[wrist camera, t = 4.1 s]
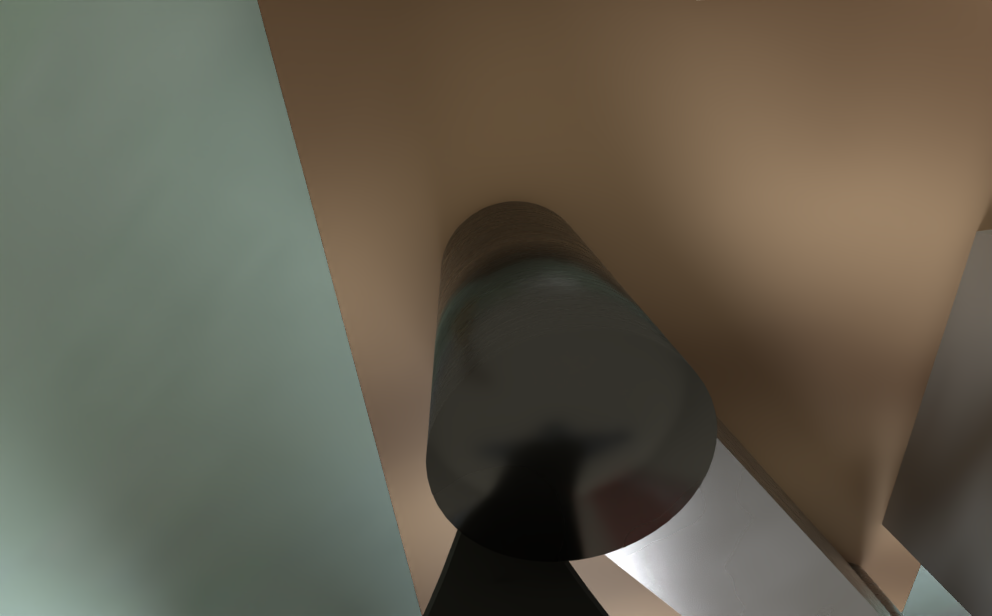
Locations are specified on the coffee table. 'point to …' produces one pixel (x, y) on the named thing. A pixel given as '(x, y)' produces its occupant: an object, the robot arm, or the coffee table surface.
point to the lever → (605, 436)
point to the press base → (688, 232)
